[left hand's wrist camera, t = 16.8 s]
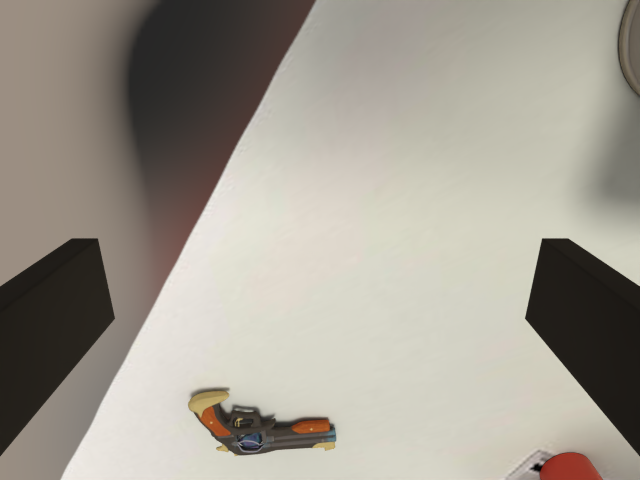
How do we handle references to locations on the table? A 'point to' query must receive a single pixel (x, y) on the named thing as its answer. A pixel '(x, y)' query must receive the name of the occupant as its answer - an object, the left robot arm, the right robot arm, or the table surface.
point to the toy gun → (257, 429)
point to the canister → (569, 468)
